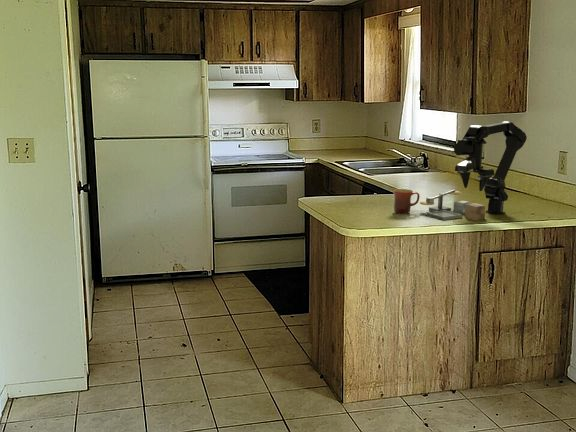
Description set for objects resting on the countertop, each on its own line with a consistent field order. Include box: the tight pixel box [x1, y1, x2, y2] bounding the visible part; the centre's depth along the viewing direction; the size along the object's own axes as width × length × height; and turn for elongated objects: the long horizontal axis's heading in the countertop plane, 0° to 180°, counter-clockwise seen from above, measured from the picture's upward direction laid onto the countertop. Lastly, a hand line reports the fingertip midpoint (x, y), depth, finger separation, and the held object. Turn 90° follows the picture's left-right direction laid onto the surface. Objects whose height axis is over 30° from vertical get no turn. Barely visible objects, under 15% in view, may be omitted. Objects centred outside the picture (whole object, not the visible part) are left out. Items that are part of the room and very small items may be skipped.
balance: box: [419, 189, 462, 212], centre depth 323 cm, size 22×6×9 cm, turn 120°
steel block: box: [452, 199, 470, 215], centre depth 321 cm, size 5×5×5 cm
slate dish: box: [425, 210, 463, 221], centre depth 311 cm, size 11×11×1 cm
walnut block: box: [464, 202, 486, 221], centre depth 309 cm, size 6×6×6 cm
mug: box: [392, 188, 421, 215], centre depth 318 cm, size 12×9×10 cm
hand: (473, 189), depth 311 cm, fingers open, 9 cm apart
